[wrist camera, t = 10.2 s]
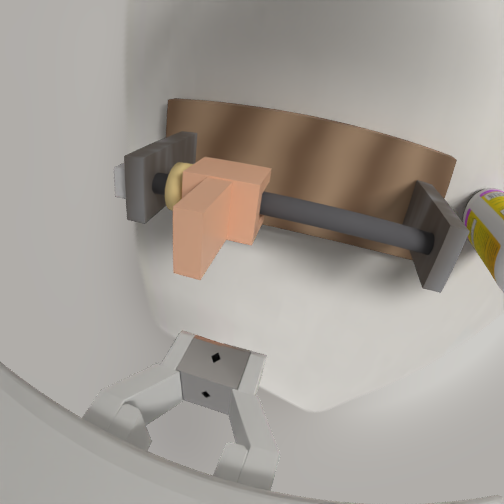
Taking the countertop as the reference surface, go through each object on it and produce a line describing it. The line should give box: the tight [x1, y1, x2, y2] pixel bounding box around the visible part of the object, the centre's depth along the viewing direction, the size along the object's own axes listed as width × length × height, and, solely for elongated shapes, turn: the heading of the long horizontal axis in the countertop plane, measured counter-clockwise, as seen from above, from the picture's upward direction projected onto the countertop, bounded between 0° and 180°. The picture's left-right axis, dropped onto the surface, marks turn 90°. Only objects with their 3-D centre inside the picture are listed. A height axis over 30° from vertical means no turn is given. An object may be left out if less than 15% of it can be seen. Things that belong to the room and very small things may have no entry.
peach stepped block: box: [173, 157, 272, 280], centre depth 19 cm, size 5×4×9 cm
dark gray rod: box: [114, 162, 434, 255], centre depth 21 cm, size 24×4×4 cm, turn 82°
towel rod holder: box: [124, 98, 470, 293], centre depth 24 cm, size 27×11×11 cm, turn 82°
